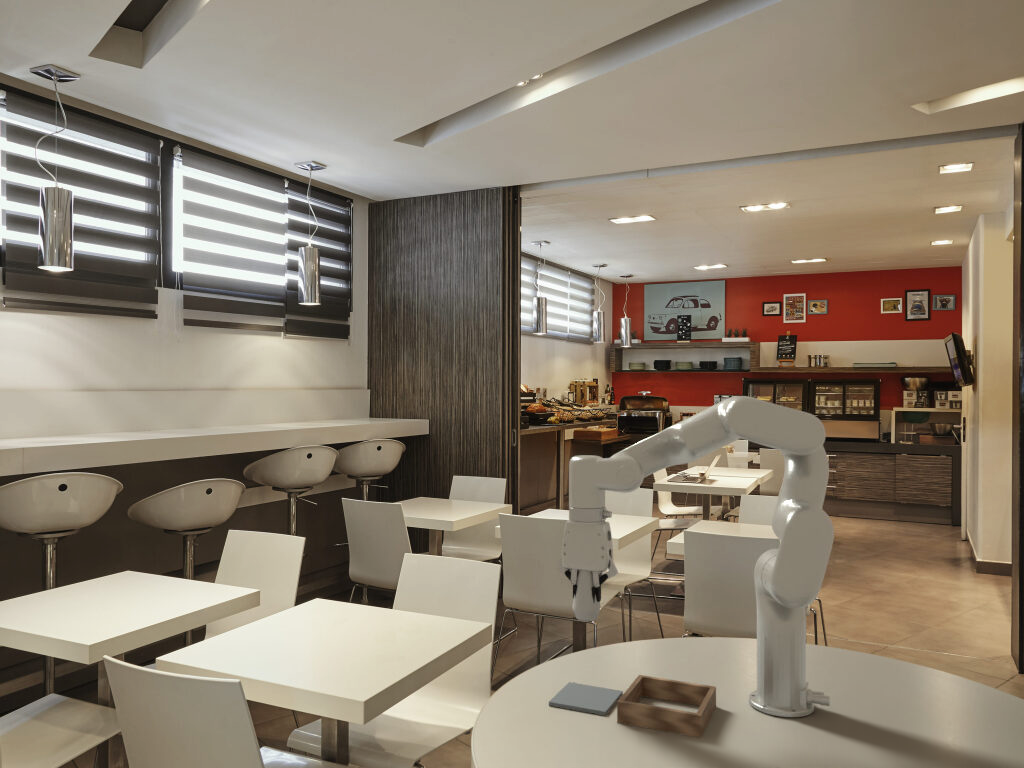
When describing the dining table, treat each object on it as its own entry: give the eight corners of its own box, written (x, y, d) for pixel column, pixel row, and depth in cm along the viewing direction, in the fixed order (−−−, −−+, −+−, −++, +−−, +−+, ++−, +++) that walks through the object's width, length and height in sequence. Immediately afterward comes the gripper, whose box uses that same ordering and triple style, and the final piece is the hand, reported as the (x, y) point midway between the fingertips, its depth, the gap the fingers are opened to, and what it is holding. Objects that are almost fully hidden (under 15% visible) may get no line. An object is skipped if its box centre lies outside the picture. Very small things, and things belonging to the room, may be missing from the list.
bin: (716, 706, 158) (716, 686, 159) (701, 737, 144) (701, 715, 144) (639, 693, 165) (639, 674, 165) (617, 722, 150) (617, 701, 151)
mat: (622, 694, 164) (622, 690, 164) (605, 715, 154) (605, 711, 154) (569, 685, 169) (569, 682, 169) (548, 705, 158) (548, 701, 158)
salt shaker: (599, 623, 158) (599, 559, 158) (570, 621, 159) (571, 557, 160) (601, 615, 164) (601, 553, 164) (574, 613, 165) (574, 552, 165)
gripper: (630, 515, 162) (630, 604, 162) (556, 510, 169) (556, 595, 169) (619, 520, 155) (619, 613, 155) (543, 515, 162) (543, 603, 162)
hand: (586, 603), depth 162 cm, fingers closed on salt shaker, 3 cm apart
